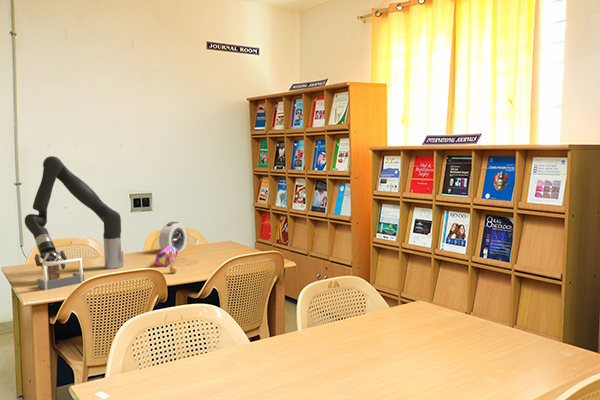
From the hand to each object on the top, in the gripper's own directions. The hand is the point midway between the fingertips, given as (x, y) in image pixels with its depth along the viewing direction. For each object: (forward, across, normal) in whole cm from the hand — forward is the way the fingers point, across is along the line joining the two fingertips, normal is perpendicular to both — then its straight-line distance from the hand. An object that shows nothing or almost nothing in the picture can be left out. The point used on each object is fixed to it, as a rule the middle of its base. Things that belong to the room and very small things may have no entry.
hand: (55, 269), depth 253 cm
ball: (+9, -1, -2) cm, 9 cm away
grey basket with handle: (+9, 0, +1) cm, 9 cm away
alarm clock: (-13, +86, +23) cm, 90 cm away
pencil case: (+7, +63, +3) cm, 63 cm away
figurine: (+24, +51, -15) cm, 58 cm away
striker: (+4, 0, +6) cm, 7 cm away
